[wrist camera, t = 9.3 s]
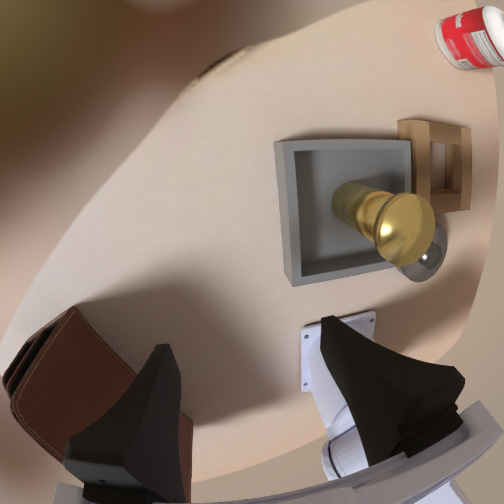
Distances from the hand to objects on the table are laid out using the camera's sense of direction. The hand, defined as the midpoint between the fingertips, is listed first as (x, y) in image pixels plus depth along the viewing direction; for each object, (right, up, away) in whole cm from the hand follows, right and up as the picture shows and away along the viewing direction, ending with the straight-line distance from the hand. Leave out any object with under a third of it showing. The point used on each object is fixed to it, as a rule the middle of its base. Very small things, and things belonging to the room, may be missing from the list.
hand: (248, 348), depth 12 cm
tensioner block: (+17, +13, +9) cm, 23 cm away
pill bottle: (+21, +27, +5) cm, 34 cm away
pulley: (+16, +5, +12) cm, 21 cm away
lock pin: (+8, +8, +9) cm, 14 cm away
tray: (+7, +8, +9) cm, 14 cm away
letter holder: (-16, -10, +13) cm, 23 cm away
